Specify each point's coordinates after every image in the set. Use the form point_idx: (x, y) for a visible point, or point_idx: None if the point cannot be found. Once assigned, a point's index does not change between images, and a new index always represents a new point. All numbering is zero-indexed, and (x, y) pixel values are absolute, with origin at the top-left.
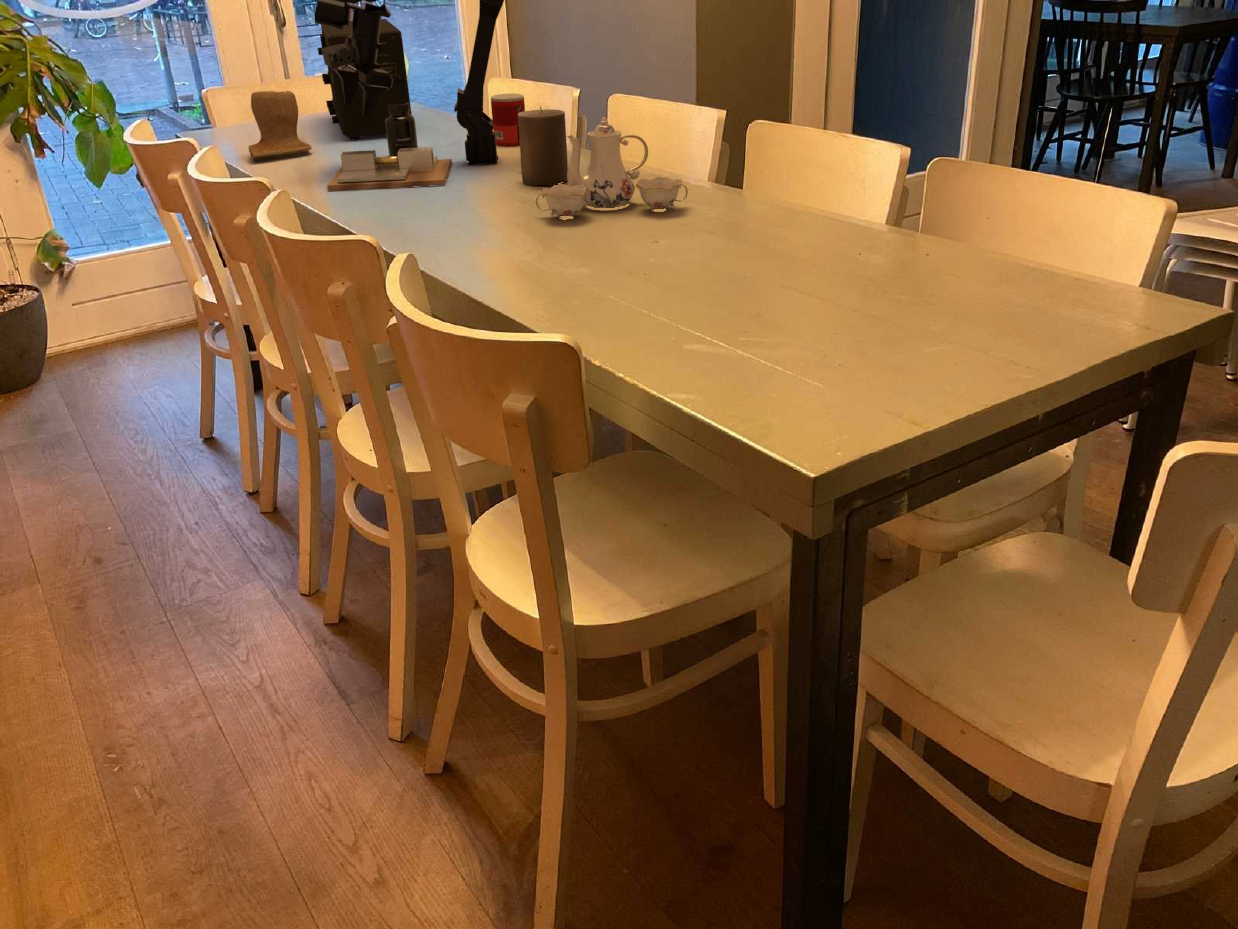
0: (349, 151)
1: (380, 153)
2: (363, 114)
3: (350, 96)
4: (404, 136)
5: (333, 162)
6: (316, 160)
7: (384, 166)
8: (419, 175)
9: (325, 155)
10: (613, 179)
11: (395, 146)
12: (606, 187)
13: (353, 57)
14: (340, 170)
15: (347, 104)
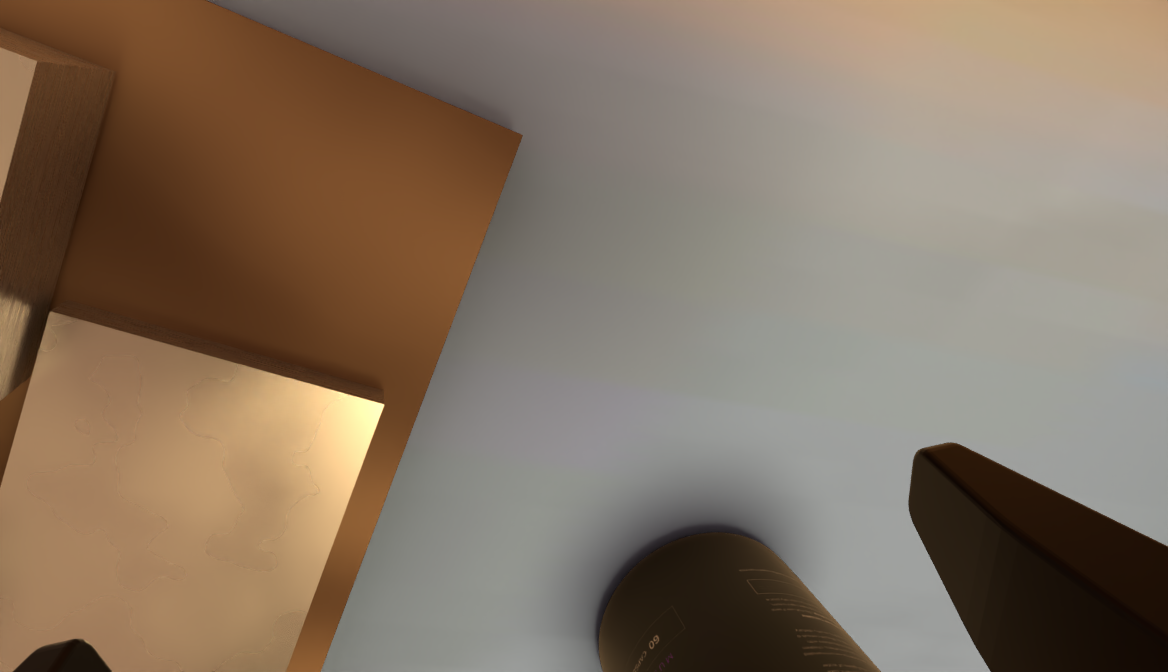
0: (17, 141)
1: (892, 485)
2: (39, 653)
3: (1014, 643)
4: None
5: (838, 112)
6: (992, 3)
7: (12, 445)
8: None
9: (1097, 115)
10: None
11: (655, 625)
12: None
13: None
14: (240, 33)
15: (915, 479)
